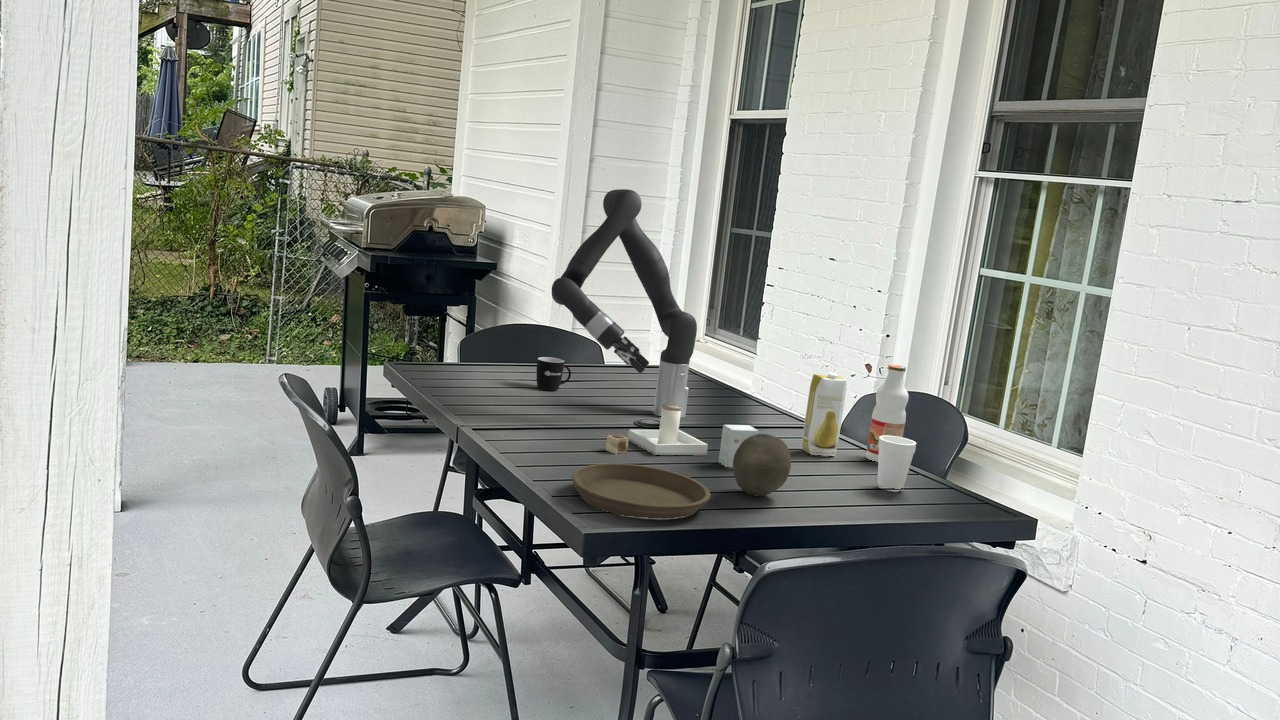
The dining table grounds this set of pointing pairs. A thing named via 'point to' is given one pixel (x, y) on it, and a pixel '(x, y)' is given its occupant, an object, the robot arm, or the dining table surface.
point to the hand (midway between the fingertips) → (645, 368)
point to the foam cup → (894, 460)
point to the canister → (669, 423)
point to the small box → (733, 441)
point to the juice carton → (824, 414)
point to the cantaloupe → (761, 464)
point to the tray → (683, 446)
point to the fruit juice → (888, 410)
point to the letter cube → (617, 444)
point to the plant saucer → (639, 490)
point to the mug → (550, 373)
